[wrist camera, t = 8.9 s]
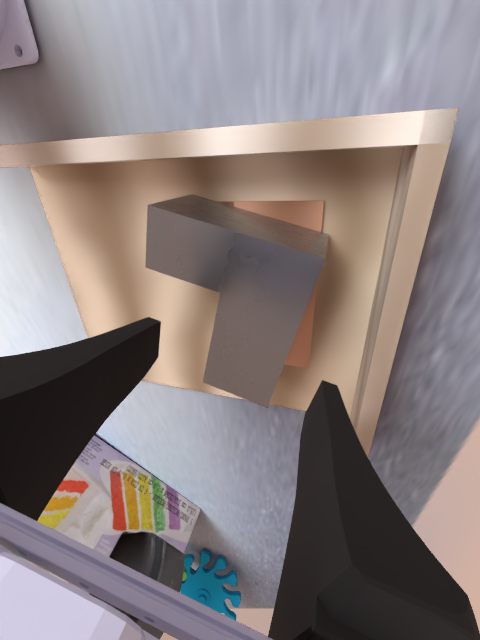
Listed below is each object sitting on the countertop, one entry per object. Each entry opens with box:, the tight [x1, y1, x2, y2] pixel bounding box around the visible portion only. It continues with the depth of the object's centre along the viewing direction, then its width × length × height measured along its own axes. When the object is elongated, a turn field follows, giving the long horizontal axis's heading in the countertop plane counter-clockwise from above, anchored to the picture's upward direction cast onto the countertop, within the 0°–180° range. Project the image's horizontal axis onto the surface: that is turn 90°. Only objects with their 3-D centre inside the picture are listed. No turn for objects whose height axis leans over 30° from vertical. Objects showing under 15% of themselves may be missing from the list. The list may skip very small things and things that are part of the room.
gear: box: [180, 550, 241, 621], centre depth 40 cm, size 11×6×10 cm
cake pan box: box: [13, 435, 200, 639], centre depth 28 cm, size 19×5×18 cm, turn 54°
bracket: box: [145, 194, 329, 407], centre depth 16 cm, size 9×8×4 cm
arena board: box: [0, 108, 459, 457], centre depth 19 cm, size 23×18×4 cm
